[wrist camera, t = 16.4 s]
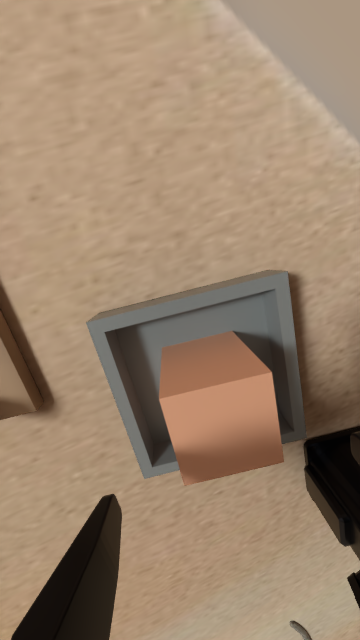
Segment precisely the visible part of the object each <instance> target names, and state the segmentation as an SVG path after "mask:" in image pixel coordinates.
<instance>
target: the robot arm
mask: <svg viewBox="0 0 360 640" xmlns="http://www.w3.org/2000/svg"><path fill="white" fill-rule="evenodd" d="M304 454H305V462H306V465H305V468H304V471H305V479H306V487H307V491H308V492H309V495H310V497H311V498H312V500H313V501H314V502H315V503H316V505H317V507H318V508H319V510H320V511H321V513H322V515H323V516H324V518H325V520H326V521H327V523H328V524H329V526H330V528H331V529H332V531H333V532H334V534H335V536H336V537H337V539H338V541H339V542H340V543H341V544H342V545H344V546H345V547H346V546H351V548H352V549H353V551H354V552H355V554H356V555H357V557H358V558H359V560H360V427H359V428H355V429H351V430H347V431H343V432H339V433H335V434H331V435H327V436H323V437H320V438H316V439H312V440H308V441H306V442H305V443H304ZM121 522H122V511H121V508H120V505H119V503H118V501H117V499H116V496H115V495H114V494H110V495H106V496H103V497H102V498H101V500H100V501H99V503H98V504H97V506H96V507H95V509H94V510H93V512H92V514H91V515H90V517H89V518H88V520H87V521H86V523H85V524H84V526H83V527H82V529H81V530H80V532H79V534H78V535H77V537H76V538H75V540H74V541H73V543H72V544H71V546H70V547H69V549H68V550H67V552H66V554H65V555H64V557H63V558H62V560H61V561H60V563H59V564H58V566H57V567H56V569H55V570H54V572H53V574H52V575H51V577H50V578H49V580H48V581H47V583H46V584H45V586H44V587H43V589H42V591H41V592H40V594H39V595H38V597H37V598H36V600H35V601H34V603H33V604H32V606H31V607H30V609H29V611H28V612H27V614H26V615H25V617H24V618H23V620H22V621H21V623H20V624H19V626H18V627H17V629H16V631H15V632H14V634H13V635H12V638H11V640H109V637H110V630H111V623H112V616H113V609H114V601H115V594H116V587H117V579H118V570H119V555H120V539H121ZM347 579H348V582H349V584H350V586H351V589H352V591H353V593H354V596H355V599H356V601H357V604H358V606H359V608H360V570H359V571H358V572H357V573H352V574H351V575H350V576H348V577H347Z"/></svg>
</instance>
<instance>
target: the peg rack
mask: <svg viewBox="0 0 360 640" xmlns="http://www.w3.org/2000/svg"><path fill="white" fill-rule="evenodd" d="M43 403H44V401H43V399H42V397H41V395H40V393H39V391H38V389H37V386H36V384H35V382H34V380H33V378H32V376H31V374H30V372H29V369H28V367H27V365H26V363H25V361H24V359H23V357H22V355H21V353H20V350H19V348H18V346H17V344H16V342H15V340H14V338H13V336H12V333H11V331H10V329H9V327H8V325H7V323H6V321H5V319H4V317H3V314H2V312H1V310H0V420H2V419H6V418H10V417H14V416H18V415H22V414H26V413H30V412H33V411H36V410H37V409H38V408H39V407H40V406H41V405H42V404H43Z"/></svg>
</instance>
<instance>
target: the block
mask: <svg viewBox="0 0 360 640" xmlns="http://www.w3.org/2000/svg"><path fill="white" fill-rule="evenodd" d="M159 401H160V404H161V408H162V411H163V414H164V418H165V421H166V425H167V428H168V431H169V435H170V438H171V442H172V445H173V448H174V452H175V455H176V459H177V462H178V465H179V469H180V472H181V476H182V479H183V482H184V486H186V485H190V484H194V483H199V482H203V481H207V480H211V479H215V478H220V477H224V476H228V475H232V474H236V473H240V472H245V471H249V470H253V469H257V468H261V467H266V466H270V465H274V464H278V463H282V462H284V458H283V450H282V443H281V436H280V428H279V421H278V413H277V406H276V399H275V391H274V384H273V376H272V372H271V371H270V370H269V369H268V367H267V366H266V365H265V364H264V363H263V362H262V361H261V360H260V359H259V358H258V357H257V356H256V355H255V354H254V353H253V352H252V351H251V350H250V349H249V348H248V347H247V346H246V345H245V344H244V343H243V342H242V341H241V340H240V339H239V338H238V337H237V336H236V335H235V333H234V332H233V331H229V332H225V333H221V334H217V335H212V336H208V337H204V338H200V339H196V340H192V341H187V342H183V343H179V344H175V345H171V346H166V347H162V355H161V372H160V390H159Z"/></svg>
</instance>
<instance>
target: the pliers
mask: <svg viewBox="0 0 360 640" xmlns="http://www.w3.org/2000/svg"><path fill="white" fill-rule="evenodd" d="M290 626H291V627H292V628H294V629H295V630H296V631H298V632H299V633H300V634H301V635H302V637H303V639H304V640H311V639H310V637H309V635H308V633H307V632H306V631H305V629H304V628H303V627H302V626H300V625H299V624H298V623H296V622H294V621H290Z"/></svg>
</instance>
